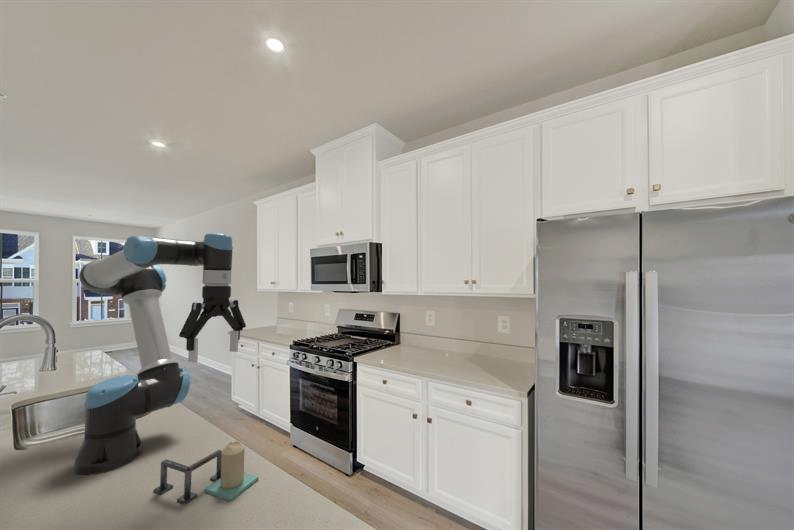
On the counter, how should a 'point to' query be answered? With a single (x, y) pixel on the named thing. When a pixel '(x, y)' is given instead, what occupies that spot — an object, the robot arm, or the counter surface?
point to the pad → (233, 492)
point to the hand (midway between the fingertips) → (214, 356)
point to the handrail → (186, 476)
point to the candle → (232, 465)
